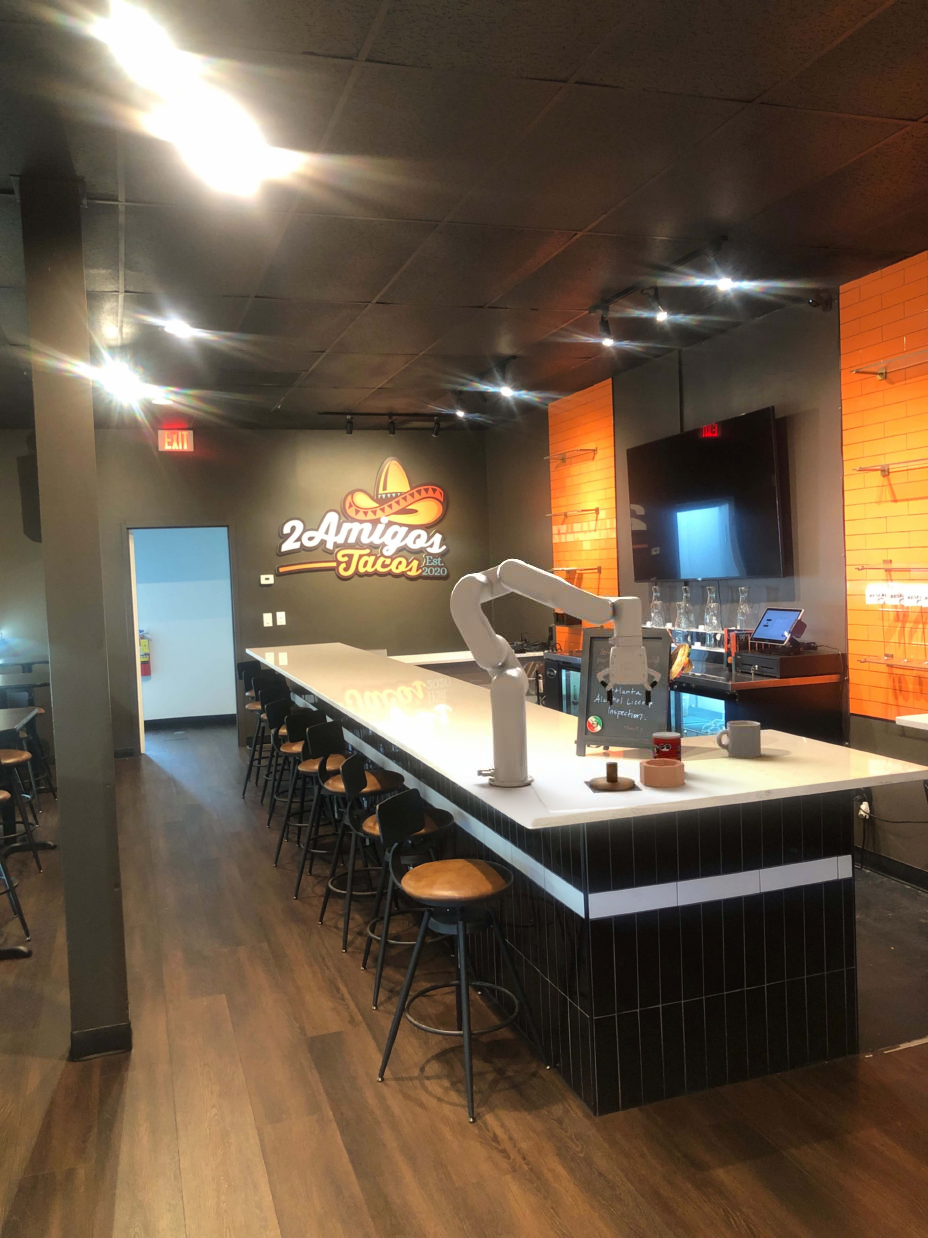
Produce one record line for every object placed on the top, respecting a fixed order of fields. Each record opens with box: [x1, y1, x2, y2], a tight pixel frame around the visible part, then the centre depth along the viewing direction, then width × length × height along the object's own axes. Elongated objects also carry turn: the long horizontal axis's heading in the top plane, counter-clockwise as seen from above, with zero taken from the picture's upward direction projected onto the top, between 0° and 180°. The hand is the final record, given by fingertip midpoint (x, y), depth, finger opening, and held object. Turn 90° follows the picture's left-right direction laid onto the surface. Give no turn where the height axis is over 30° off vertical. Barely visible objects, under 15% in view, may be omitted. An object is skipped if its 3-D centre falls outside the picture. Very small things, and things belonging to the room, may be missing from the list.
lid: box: [589, 761, 636, 792], centre depth 243 cm, size 12×12×6 cm
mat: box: [583, 780, 643, 794], centre depth 243 cm, size 13×13×1 cm
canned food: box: [652, 731, 682, 762], centre depth 260 cm, size 8×8×11 cm
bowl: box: [639, 758, 686, 788], centre depth 245 cm, size 11×11×6 cm
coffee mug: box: [716, 720, 762, 759], centre depth 280 cm, size 13×10×10 cm
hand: (629, 704), depth 246 cm, fingers open, 9 cm apart
